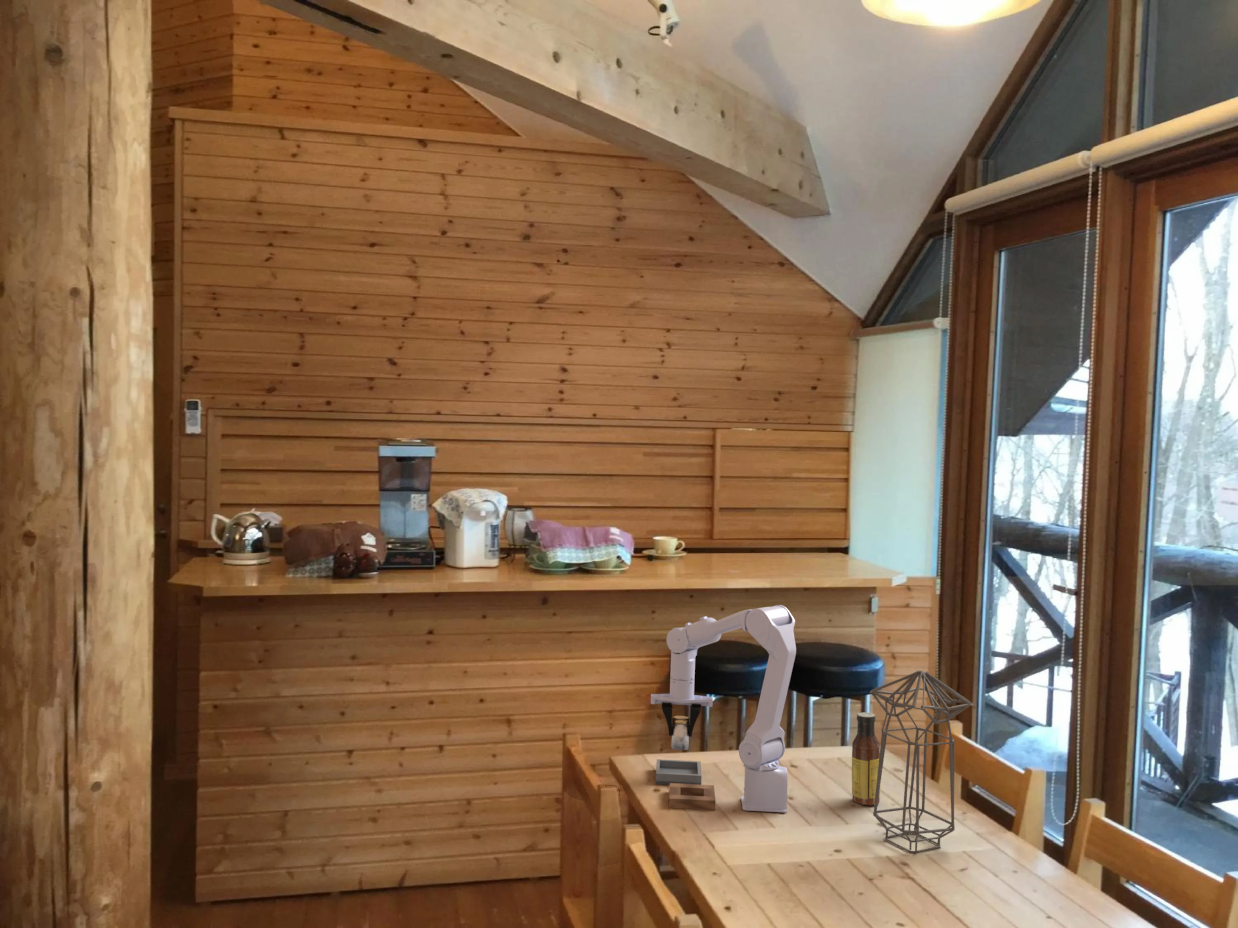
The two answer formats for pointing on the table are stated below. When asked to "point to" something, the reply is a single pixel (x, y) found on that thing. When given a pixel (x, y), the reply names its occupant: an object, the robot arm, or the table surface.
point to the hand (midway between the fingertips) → (680, 735)
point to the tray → (678, 772)
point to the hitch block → (692, 796)
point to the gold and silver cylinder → (680, 732)
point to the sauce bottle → (865, 761)
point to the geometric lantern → (917, 750)
